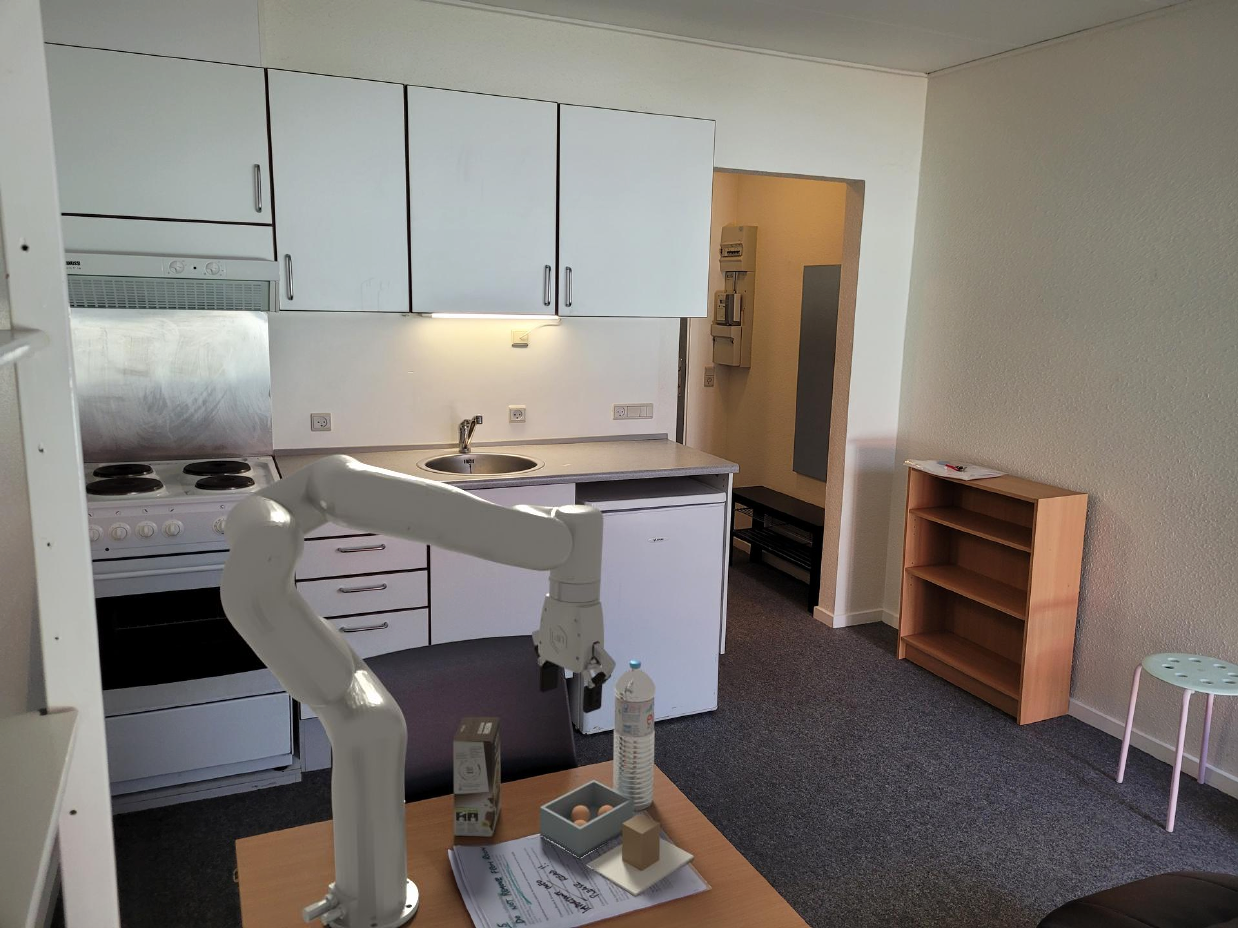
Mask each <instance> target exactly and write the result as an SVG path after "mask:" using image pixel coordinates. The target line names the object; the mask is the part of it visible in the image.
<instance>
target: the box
mask: <svg viewBox="0 0 1238 928" xmlns="http://www.w3.org/2000/svg"><path fill="white" fill-rule="evenodd" d="M580 805H582V806H585V807H586V808H587V809H588V810H589V812H590V818H589V821H588V822H587V823H586V824H584V825H582V826H581V827H580V826H578V825H576V824H574V822H573V821H572V818H571V813H572V811H573V809H574V808H575V807H577V806H580ZM605 805H609V806H611V807H613V809H611V810H610V811H608V812H606V813H604V814H602V815H601V816H599V817H598V811H599V809H600V808H601V807H603V806H605ZM634 813H635V811H634V799H632V798H630V797H628V796H626V795H624V794H622V793H620V792H618V791H615V790H613V788H611V787H609V786H607V785H606V784H603V783H602V782H599V781H597V780H595V779H593V780H590V781H589V782H586V783H584V784H582V785H581V786H579V787H577V788H575V789H572V790H571V791H569V792H566V793H565V794H563V795H561V796H559V797H557V798H555V799H553V800H551V801H549V802H547V803H545V804H544V805H541V806H540V808H539V837H540V836H543V837H545V838H546V839H549V840H550V841H553V842H554V843H556V844H558V845H560V846H561V847H563V848H565V850H567V851H569V852H571V853H572V854H574V855H576V856H577V857H579V858H581V857H583V856H584V855H586V854H588V853H589V852H591V851H593V850H595V849H597V848H599V847H600V846H602V845H604V844H606V843H607V844H609V843H610V842H609V841H611V842H613V841H614V840H616V839H617V837H618V838H620V837H622V823H624V822H626V821H628V820H629V819H631V818H633V817H634ZM615 838H616V839H615ZM613 839H614V840H613ZM612 840H613V841H612ZM608 842H609V843H608ZM607 844H606V845H607ZM604 846H605V845H604ZM602 847H603V846H602ZM599 849H600V848H599ZM597 850H598V849H597Z"/></svg>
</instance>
